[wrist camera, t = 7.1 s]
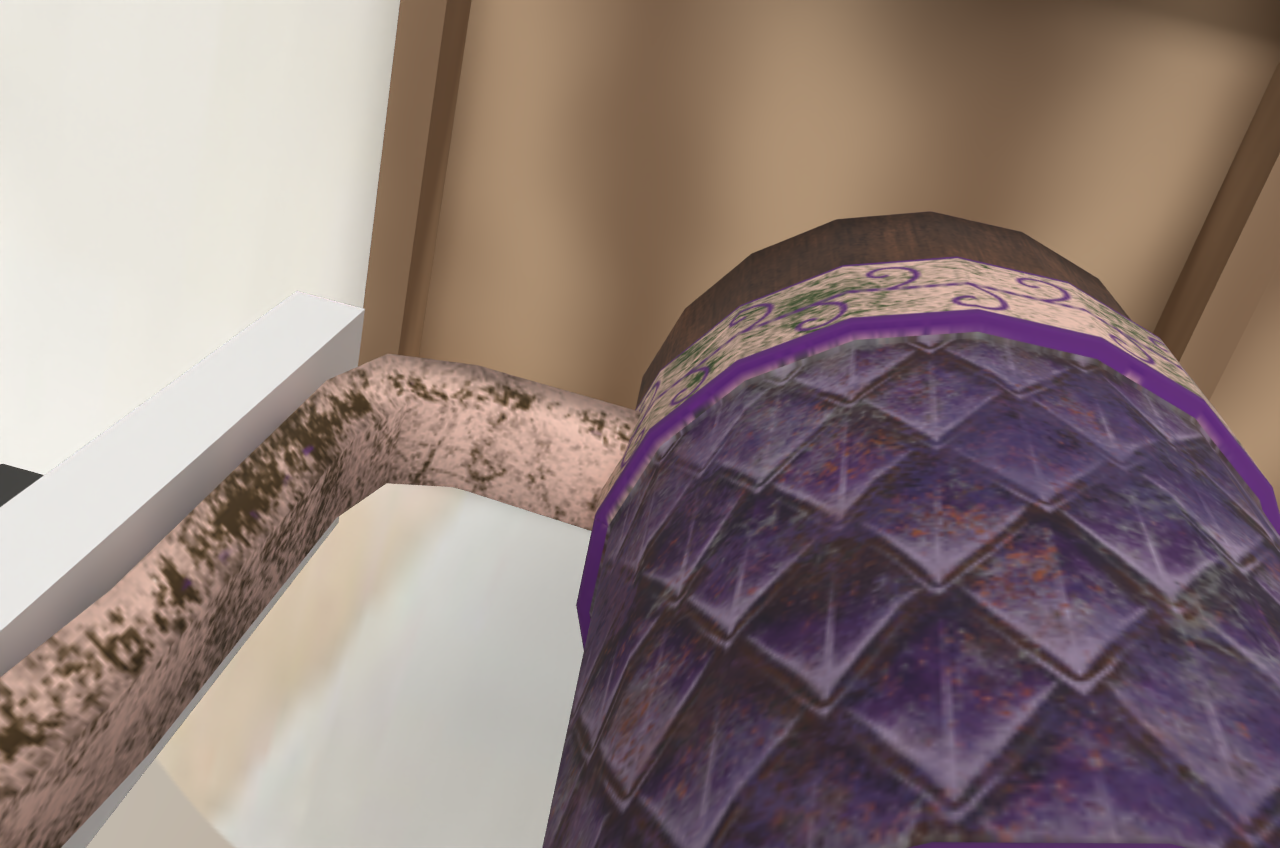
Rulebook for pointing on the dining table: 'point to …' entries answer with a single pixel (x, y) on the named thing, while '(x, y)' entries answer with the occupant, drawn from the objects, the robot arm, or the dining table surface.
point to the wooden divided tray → (820, 167)
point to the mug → (791, 568)
